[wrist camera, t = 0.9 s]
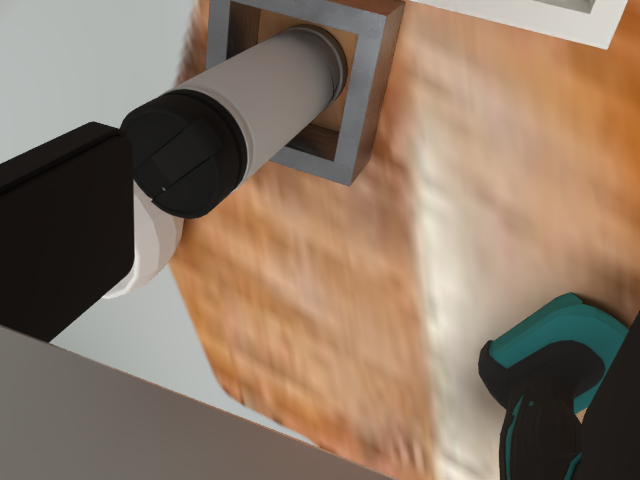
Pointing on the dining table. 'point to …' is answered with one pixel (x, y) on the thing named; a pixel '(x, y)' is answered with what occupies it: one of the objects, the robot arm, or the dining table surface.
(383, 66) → the socket block
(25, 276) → the robot arm
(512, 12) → the light grey square tray
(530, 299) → the dining table surface
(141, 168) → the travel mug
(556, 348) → the power drill
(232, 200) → the dining table surface
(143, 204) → the cup
